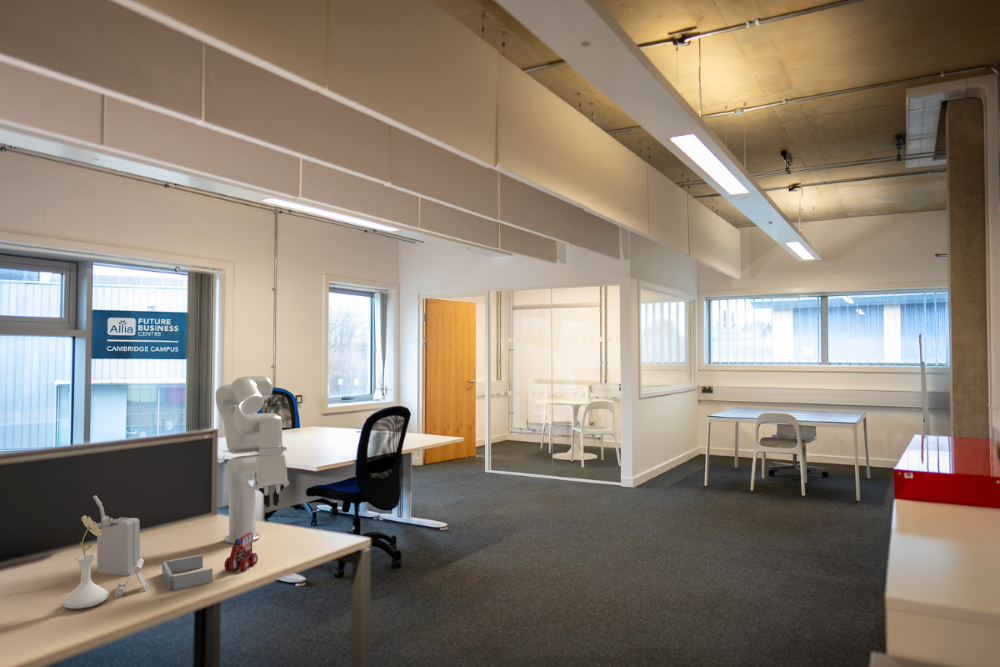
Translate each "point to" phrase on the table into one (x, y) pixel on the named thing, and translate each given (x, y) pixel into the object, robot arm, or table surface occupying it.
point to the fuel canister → (117, 544)
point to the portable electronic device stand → (135, 570)
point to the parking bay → (186, 578)
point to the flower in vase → (86, 577)
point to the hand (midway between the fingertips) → (271, 505)
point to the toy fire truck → (242, 554)
